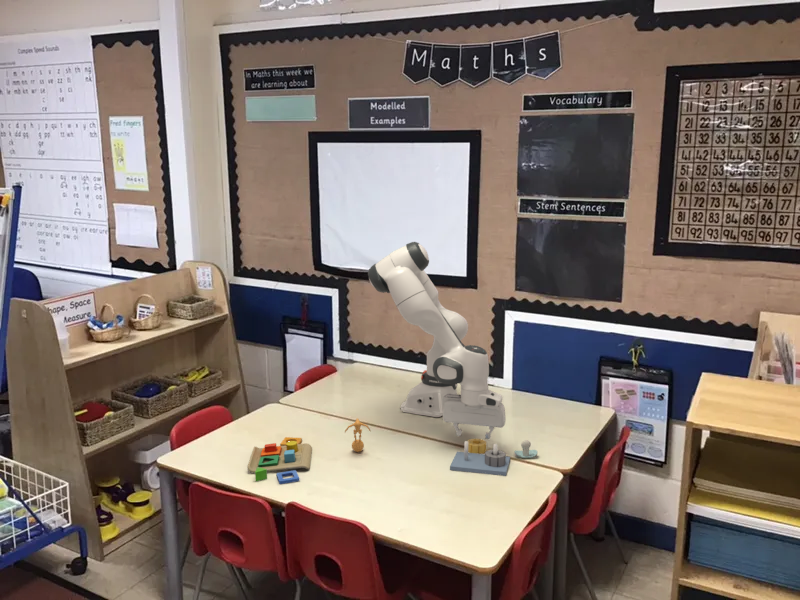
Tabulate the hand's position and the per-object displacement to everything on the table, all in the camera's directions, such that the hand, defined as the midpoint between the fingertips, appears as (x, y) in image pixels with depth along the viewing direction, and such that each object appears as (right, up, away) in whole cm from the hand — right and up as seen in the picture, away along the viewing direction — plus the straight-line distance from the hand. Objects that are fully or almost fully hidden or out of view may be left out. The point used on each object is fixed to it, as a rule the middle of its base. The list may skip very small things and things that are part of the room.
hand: (473, 437), depth 229 cm
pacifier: (+16, -6, -3) cm, 17 cm away
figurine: (-37, -5, 0) cm, 38 cm away
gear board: (+1, -7, -10) cm, 12 cm away
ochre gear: (+1, -5, +1) cm, 5 cm away
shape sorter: (-61, -7, -5) cm, 62 cm away
